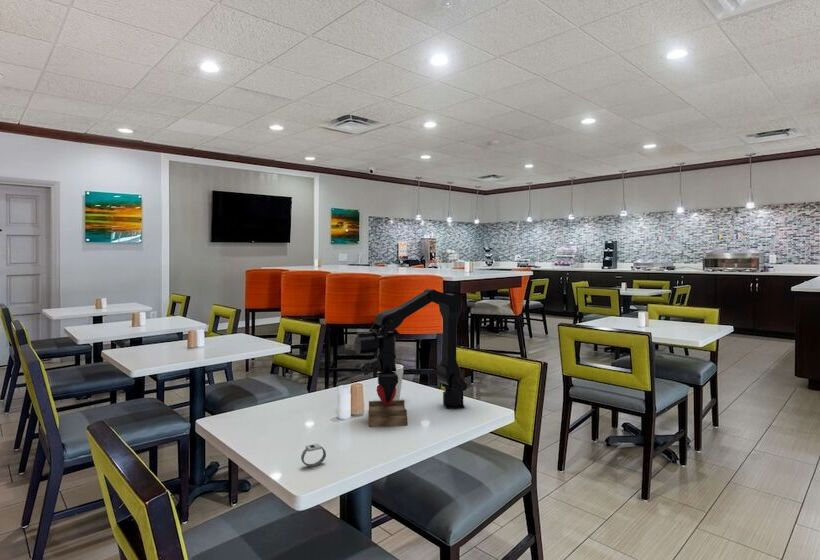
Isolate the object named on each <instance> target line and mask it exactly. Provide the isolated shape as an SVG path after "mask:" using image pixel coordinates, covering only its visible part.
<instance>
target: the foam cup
mask: <svg viewBox="0 0 820 560" xmlns="http://www.w3.org/2000/svg"><path fill="white" fill-rule="evenodd" d="M392 372H395V373H396V374H397V375H398V383H397V385H396V394H395V397H394V399H393V400H401V391H402V383H403V374H404V365H402V364H398V363H396V371H392ZM378 373H380V372H377V374H378Z"/></svg>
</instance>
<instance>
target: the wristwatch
mask: <svg viewBox="0 0 820 560" xmlns="http://www.w3.org/2000/svg"><path fill="white" fill-rule="evenodd" d="M317 450H322V456H321V458H320V459H319V460H318V461H316V462H314V463H306V462H305V455H306V453H307V452H314V451H317ZM326 457H327V452H326V450H325V448H324V447H323V446H322V445H320V444H319V443H314V444H309V445H305V449H303V451H302V453H301V457H300V459H301V462H302V463H303V464H304V465H305V466H307V467H309V468H314V467H316V466H319V465H320V464H322V463H323V462H324V461H325V459H326Z"/></svg>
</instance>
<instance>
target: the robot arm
mask: <svg viewBox="0 0 820 560" xmlns="http://www.w3.org/2000/svg"><path fill="white" fill-rule="evenodd" d="M431 303H434V304H437V305H438V308H439V312H440V315H441V317H442V359H441V361H440V364H438V363H436V364H435V365H436V367H435V369H436V373H435V376H437V380H438V382H440V383H441V386H442V388H444V391H442V403H443V405H444V407H445V408H446V409H464V408H465V404H464V391H467V387H468V384H467V382H466V381H465V380H463V379H462V376H461V375H462V374H461V369H460V366H459V363H458V362H457V342H458V341H457V340H458V339H457V336H458V334H457V333H458V332H457V330H458V329H457V328H458V318H459V316H460V314H461V313H462V307H463V299H462V297H461V296H460V295H458V294H455V293H444V292H440V291H438V290H436V289H433V288H432V289H431V288H426V289H424V290H423V291H422V292H421V293H419V294H417V295H415V296H414V297H411V299H409V300H407V301H406V302H403V303H402V304H400V305H398V306H397V307H394V308H390V309H386V310H384V311H381V312H379V313H377V314H376V316H375V320H374V323H373V324H372V326H371V327H370V329H369V330H368V332H362V331H361V332H356V336H355V338H354V342H353V343H354V344H353V346H354V351H355V353H356V354H357V355H364V354H374V353H376V352H377V354H376V358H373V359H370V360H366V361H365V362H362V363H361V364H360V368H361V371H362V374H363V375H364V376H367V375H369V374H371V373H373V372H375V371H377V384H378V385H379V384H380V385H381V386H382V387H383V389H384V394H385V399H386V402H389V401H390V399H391V397H392V394H393V392H394V389H395V387H396V385H397V383H398V375H397V374H396V373H395V372H392V371H396V364H397V363H396V359H397V354H396V338H401V337H402V334H401V333H400V332H398V330H397V328H398V327H400V326H401V324H403V322H404V321H405V320H406V319H407V318H408V317H410V316H411V315H413V314H414V313H416V312H418V311H420V310H421V309H423V308H424V307H426V306H427V305H429V304H431ZM378 372H380V373H378Z"/></svg>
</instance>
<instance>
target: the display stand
mask: <svg viewBox="0 0 820 560" xmlns="http://www.w3.org/2000/svg"><path fill="white" fill-rule="evenodd" d="M401 426H403V427H404V426H405V427H406V426H408V410H407V409H406V407H405V400H404V399H400V400H392V402H391V403H390V404H389V406H385V405H384V403H383V402H382V401H381V400H369V401H368V427H369V428H374V427H375V428H377V427H379V428H380V427H401Z"/></svg>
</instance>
